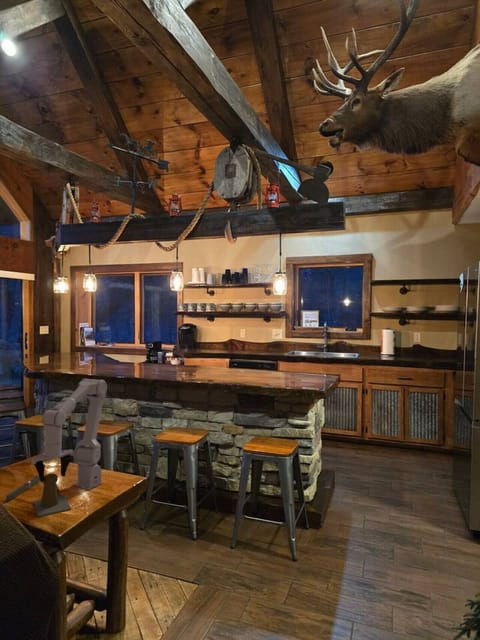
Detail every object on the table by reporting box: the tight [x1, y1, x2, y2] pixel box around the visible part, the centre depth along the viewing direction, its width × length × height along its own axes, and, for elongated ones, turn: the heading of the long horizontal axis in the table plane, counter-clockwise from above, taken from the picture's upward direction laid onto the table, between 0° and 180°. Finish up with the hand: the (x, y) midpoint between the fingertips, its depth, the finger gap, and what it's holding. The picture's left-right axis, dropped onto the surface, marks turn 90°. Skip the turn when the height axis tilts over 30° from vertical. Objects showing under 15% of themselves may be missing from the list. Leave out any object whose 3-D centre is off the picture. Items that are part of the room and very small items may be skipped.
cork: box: [40, 472, 59, 508], centre depth 153 cm, size 6×6×11 cm
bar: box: [5, 475, 40, 502], centre depth 164 cm, size 19×2×2 cm, turn 173°
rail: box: [56, 483, 60, 496], centre depth 166 cm, size 12×1×2 cm, turn 33°
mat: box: [32, 494, 72, 518], centre depth 152 cm, size 13×11×1 cm
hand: (52, 478), depth 152 cm, fingers open, 7 cm apart
